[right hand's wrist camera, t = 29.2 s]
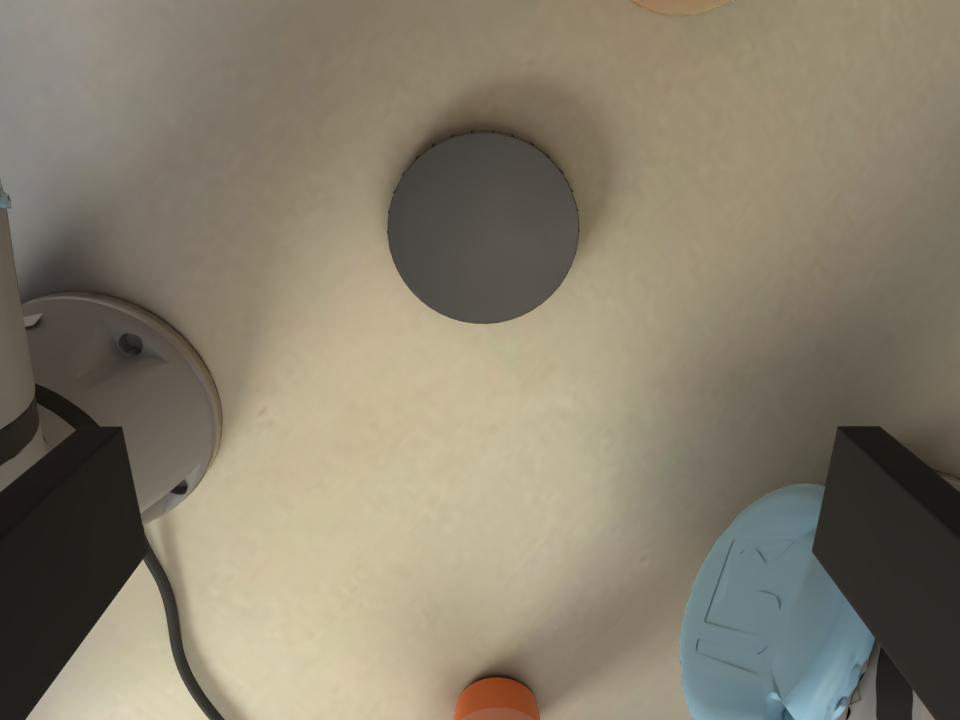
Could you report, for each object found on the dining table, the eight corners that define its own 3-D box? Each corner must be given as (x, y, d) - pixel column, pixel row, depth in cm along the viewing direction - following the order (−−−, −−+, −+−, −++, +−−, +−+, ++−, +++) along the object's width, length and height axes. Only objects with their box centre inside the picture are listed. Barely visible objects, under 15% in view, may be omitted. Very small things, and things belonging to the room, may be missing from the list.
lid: (460, 88, 36) (458, 87, 35) (614, 206, 39) (620, 210, 37) (354, 249, 40) (349, 254, 38) (503, 349, 42) (504, 359, 40)
